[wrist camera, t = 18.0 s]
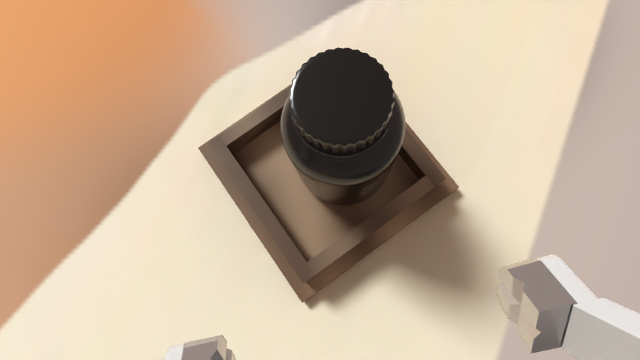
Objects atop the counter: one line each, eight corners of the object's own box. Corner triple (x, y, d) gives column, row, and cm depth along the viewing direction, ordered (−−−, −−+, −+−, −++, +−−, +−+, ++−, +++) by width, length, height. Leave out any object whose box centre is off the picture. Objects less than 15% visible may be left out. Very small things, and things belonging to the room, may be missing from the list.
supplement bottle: (377, 110, 29) (401, 12, 18) (398, 196, 28) (439, 152, 16) (289, 128, 30) (255, 43, 18) (306, 215, 28) (281, 184, 16)
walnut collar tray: (303, 301, 28) (299, 306, 25) (201, 150, 30) (188, 140, 28) (455, 188, 29) (467, 181, 26) (344, 52, 31) (345, 33, 29)
